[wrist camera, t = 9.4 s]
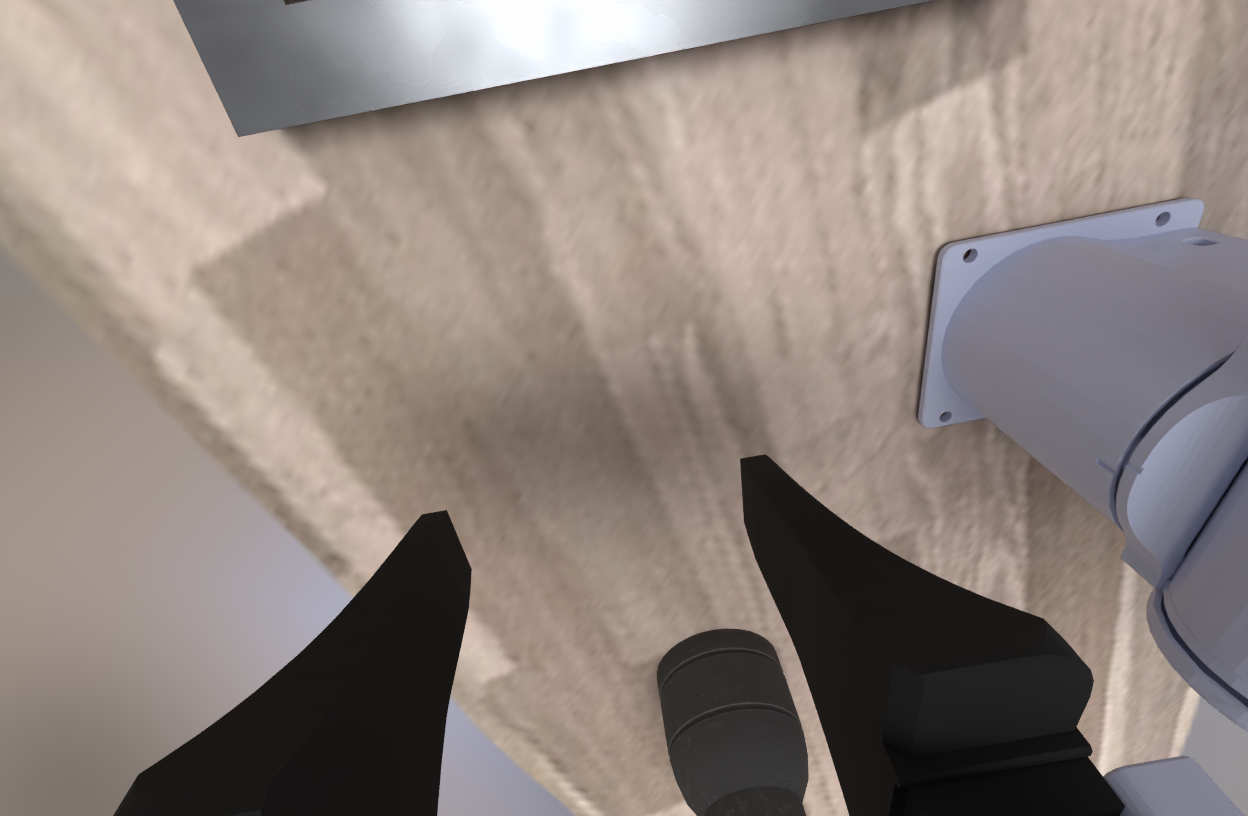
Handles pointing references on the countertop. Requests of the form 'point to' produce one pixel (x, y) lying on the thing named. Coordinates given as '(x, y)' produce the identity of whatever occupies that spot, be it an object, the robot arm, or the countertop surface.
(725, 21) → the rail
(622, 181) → the countertop surface
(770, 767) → the flashlight
